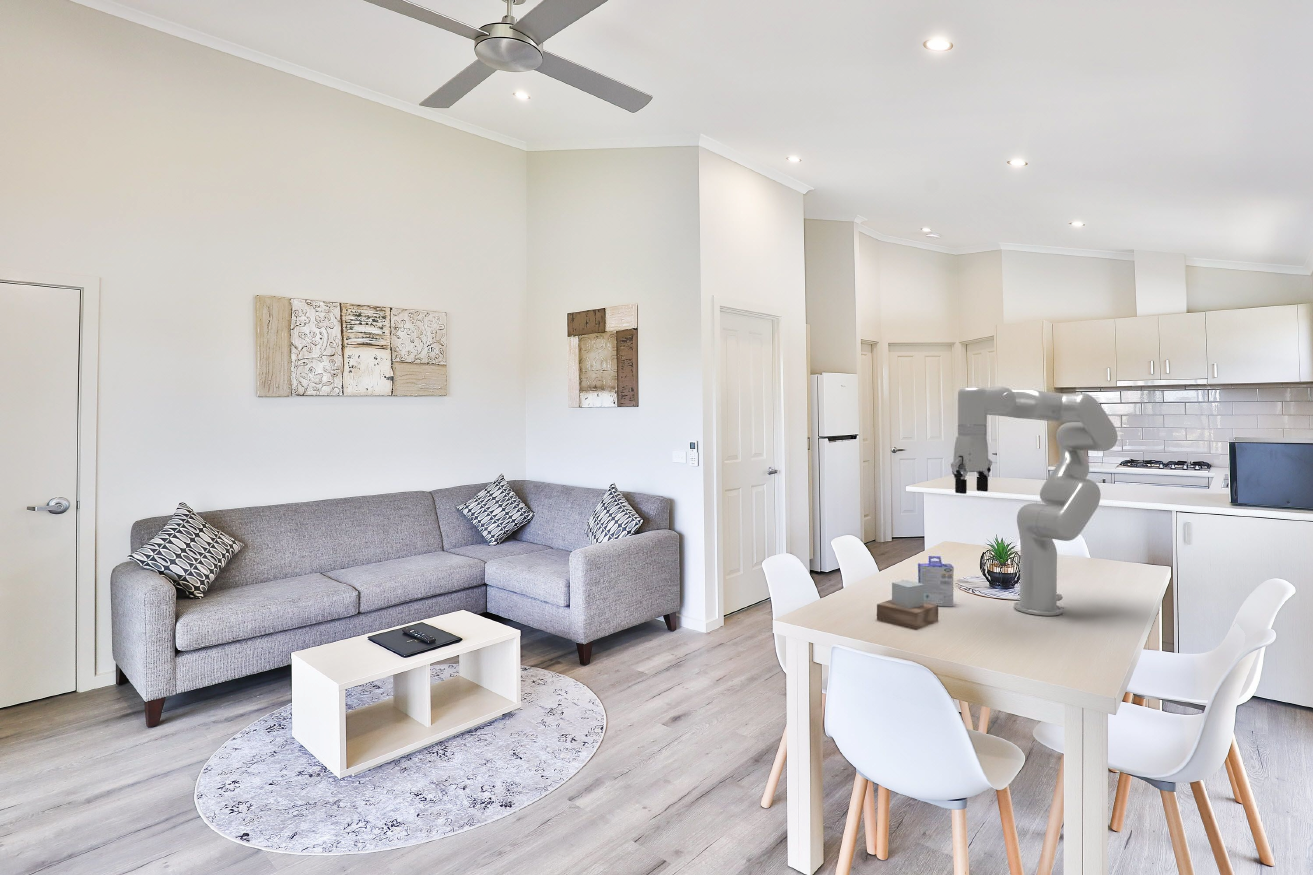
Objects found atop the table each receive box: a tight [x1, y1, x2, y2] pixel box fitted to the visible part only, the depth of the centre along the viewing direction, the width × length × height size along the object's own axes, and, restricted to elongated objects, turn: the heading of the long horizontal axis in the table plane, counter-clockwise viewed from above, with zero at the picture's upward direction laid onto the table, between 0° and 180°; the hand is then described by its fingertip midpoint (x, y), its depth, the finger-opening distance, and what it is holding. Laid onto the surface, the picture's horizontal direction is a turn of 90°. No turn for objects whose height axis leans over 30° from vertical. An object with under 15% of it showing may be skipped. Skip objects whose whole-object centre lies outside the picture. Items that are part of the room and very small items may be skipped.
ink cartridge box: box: [917, 555, 955, 607], centre depth 215 cm, size 10×6×14 cm, turn 79°
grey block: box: [891, 579, 924, 609], centre depth 199 cm, size 6×6×6 cm
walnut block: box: [876, 598, 939, 631], centre depth 199 cm, size 12×12×5 cm
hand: (971, 492), depth 198 cm, fingers open, 9 cm apart
